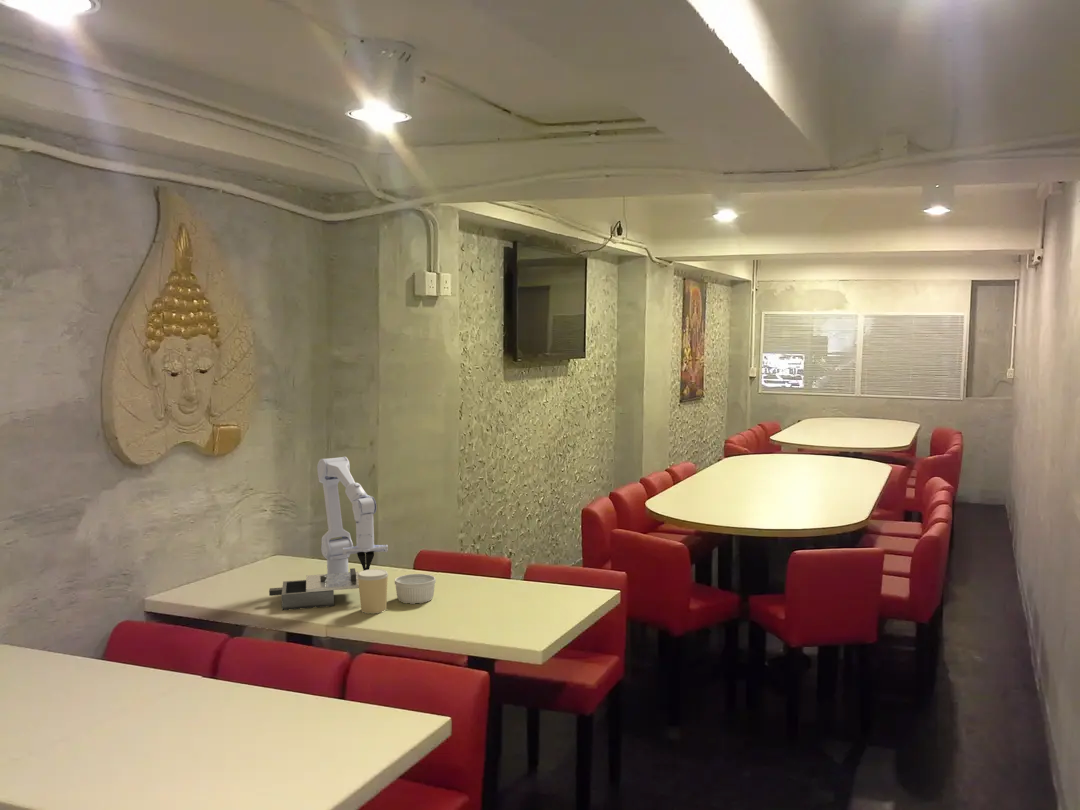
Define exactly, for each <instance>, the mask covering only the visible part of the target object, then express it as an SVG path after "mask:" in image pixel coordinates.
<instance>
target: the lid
mask: <svg viewBox="0 0 1080 810" xmlns="http://www.w3.org/2000/svg"><path fill="white" fill-rule="evenodd" d="M358 575H359V571H356V568H349V571H348V572H347V573H334V574H327V573H323V574H309V575H306V577H305V578H306V579H305V580H306V592H317V591H330V590H334V591H339V590H353V589H359V581H358Z"/></svg>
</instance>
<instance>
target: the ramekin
mask: <svg viewBox="0 0 1080 810" xmlns="http://www.w3.org/2000/svg"><path fill="white" fill-rule="evenodd" d="M436 581H437V579H436V577H435V576H433V575H431V574H426V573H408V574H404V575H400V576H397V577H396V578H394V585H395V591H396V598H397V599H398V601H399V602H400V601H401V602H400V603H402V602H404V603H403V604H407V603H410V604H409V605H416V604H415V603H420V604H424V603H423V602H425V603H428V602H430V601H431V600H432V599H433V597H434V592H435V584H436ZM427 601H428V602H427Z"/></svg>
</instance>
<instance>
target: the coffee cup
mask: <svg viewBox="0 0 1080 810" xmlns="http://www.w3.org/2000/svg"><path fill="white" fill-rule="evenodd" d="M358 573H359V575H358V581H359V588H358V591H359V602H360V609H361V610H360V611H361V613H363V612H365V613H364V614H366V613H377V614H379V613H378V612H381V613H383V612H382V611H384V610H385V611H386V610H387V601H388V579H389V578H388V577H389V573H388V571H387V570H385V569H382V568H381V569H380V568H371V569H370V568H369V570H364V571H363V570H362V571H358ZM385 611H384V612H385Z"/></svg>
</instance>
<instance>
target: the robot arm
mask: <svg viewBox="0 0 1080 810" xmlns="http://www.w3.org/2000/svg"><path fill="white" fill-rule="evenodd" d="M350 467H351V465H350V460H349V459H348V457H347V456H342V457H341V456H340V457H331V458H330V457H329V458H320V459H319V460H318V462H317V466H316V471H317V477H318V483H321V484H322V486H323V487H322V489H323V496H324V505H325V512H326V513H325V514H326V520H327V528H328V530H327V531H326V532H325V533H324V534H323V535H322V537H321V546H320V548H321V549H320V551H321V555H322V556H323V557H324V558H325V559H326V572H327V573H326V574H334V573H347V572H349V558H350V556H351V555H354V554H357V557H358V559H359V562H360V565H361V567H362V571H364V570H369V569H370V567H371V564H372V561H373V559H374V558H375V557H374V556H375V553H381V552H384V553H388V551H389V546H388V544H375V529H374V524H375V523H374V514H376V512H377V508H378V507H377V506H378V505H377V502H376V499H375V497H374V496H372V495H368V493H367V492H366V491H365V490H364V488H363V486H362V485H361V483H359V482H356V481H355V479H354V477H353V476H352V473H351V472H350V471H351V468H350ZM339 483H341V484H342V485H343V487H345V491H344V493H345V495H346V496H347V498H348V500H349V501H350V503H351V504H352V507H351V508H352V512H353V517H354V518H353V520H354V521H355V534H356V535H355V536H356V537H355V539H356V541H355V543H356V546H354V543H353V541H352V537H351V533H350V532H349V531H347V530H346V529H344V527H343V520H342V518H343V517H342V512H341V511H342V510H341V502H340V493H339V488H338V487H339V486H338V484H339Z"/></svg>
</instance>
